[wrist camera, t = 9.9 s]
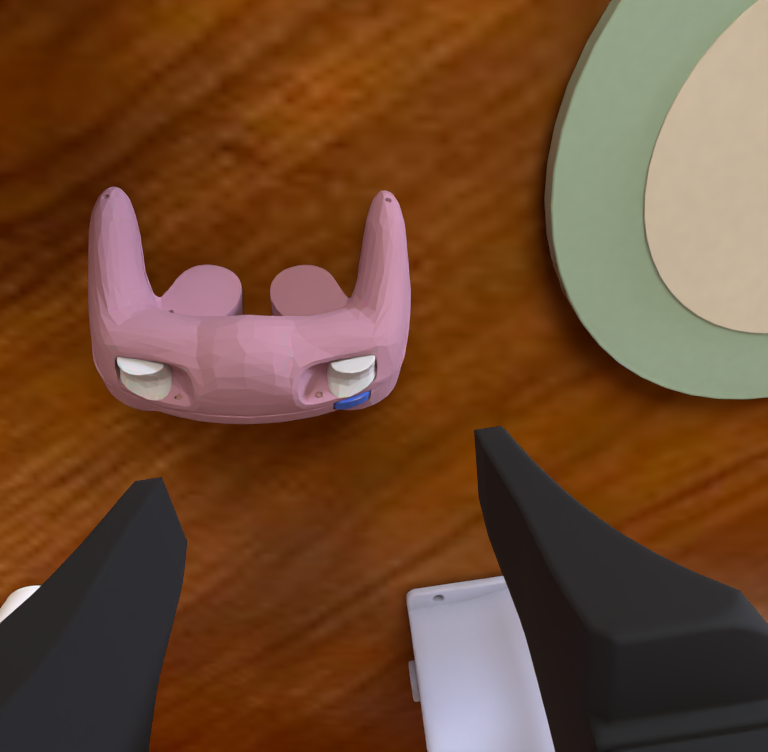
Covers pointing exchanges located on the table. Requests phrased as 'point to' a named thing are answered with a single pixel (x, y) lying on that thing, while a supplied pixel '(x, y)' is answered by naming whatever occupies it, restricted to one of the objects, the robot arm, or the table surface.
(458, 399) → the table surface
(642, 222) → the plate
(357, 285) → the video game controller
